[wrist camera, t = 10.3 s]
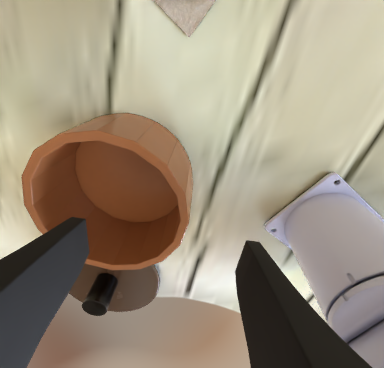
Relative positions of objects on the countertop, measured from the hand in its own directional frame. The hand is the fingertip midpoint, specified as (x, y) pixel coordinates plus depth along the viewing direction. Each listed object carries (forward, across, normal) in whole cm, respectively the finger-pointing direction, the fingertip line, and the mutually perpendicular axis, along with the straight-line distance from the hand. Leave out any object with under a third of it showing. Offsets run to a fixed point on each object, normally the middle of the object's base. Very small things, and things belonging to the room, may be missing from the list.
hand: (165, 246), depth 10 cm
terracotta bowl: (+10, +4, +2) cm, 12 cm away
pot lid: (+10, +7, +16) cm, 20 cm away
